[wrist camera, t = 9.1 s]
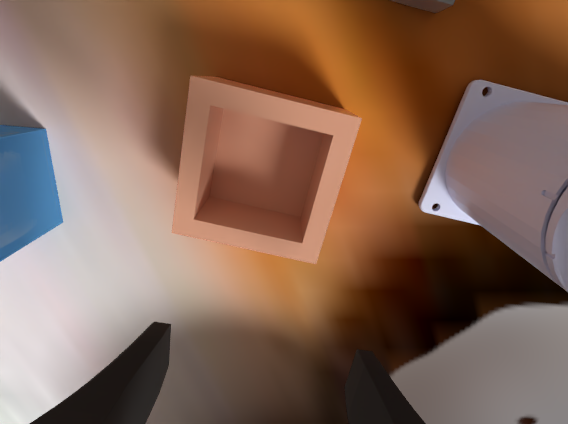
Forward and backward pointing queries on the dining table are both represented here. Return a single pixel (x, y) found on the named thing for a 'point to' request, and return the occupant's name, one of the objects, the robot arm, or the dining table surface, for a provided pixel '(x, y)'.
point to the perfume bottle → (26, 188)
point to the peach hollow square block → (260, 168)
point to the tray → (428, 4)
